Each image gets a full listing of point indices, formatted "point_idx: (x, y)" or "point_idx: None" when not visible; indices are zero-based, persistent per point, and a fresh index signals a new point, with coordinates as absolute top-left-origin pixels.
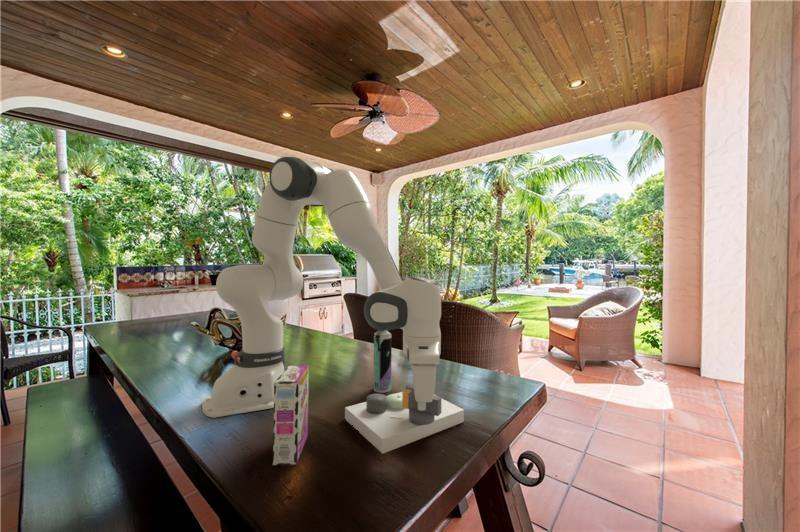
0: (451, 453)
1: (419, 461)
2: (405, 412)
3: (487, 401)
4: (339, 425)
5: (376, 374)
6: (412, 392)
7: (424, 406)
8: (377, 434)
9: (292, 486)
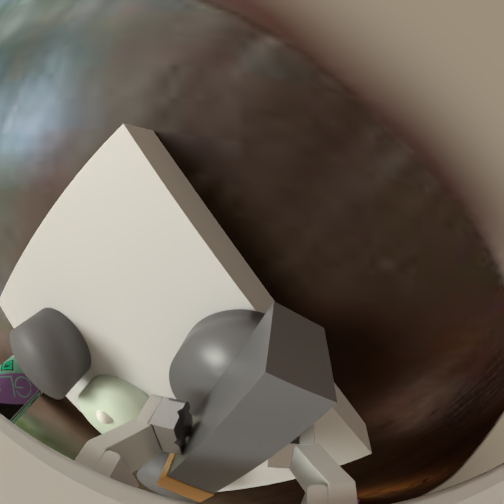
0: (408, 235)
1: (425, 343)
2: None
3: (33, 54)
4: None
5: (18, 418)
6: (194, 482)
7: (311, 429)
8: (342, 464)
9: (405, 486)
